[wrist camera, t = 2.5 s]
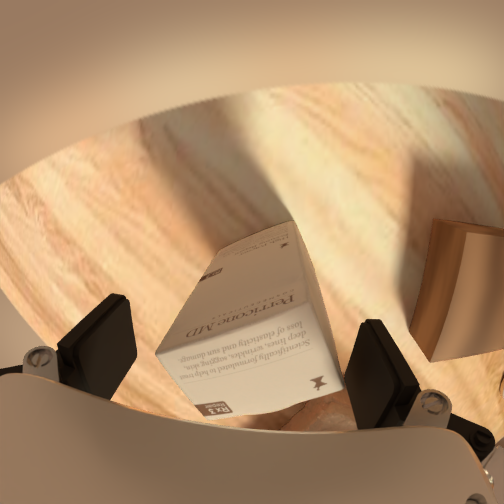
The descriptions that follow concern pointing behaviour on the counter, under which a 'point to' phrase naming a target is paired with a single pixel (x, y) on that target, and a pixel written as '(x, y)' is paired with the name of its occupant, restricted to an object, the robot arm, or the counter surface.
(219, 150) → the counter surface
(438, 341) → the walnut block
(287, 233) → the skincare box
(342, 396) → the brick
